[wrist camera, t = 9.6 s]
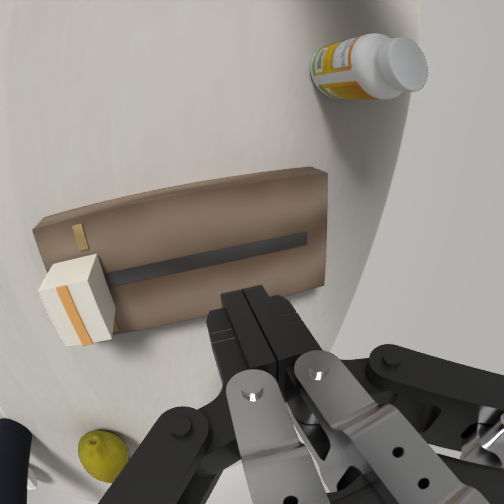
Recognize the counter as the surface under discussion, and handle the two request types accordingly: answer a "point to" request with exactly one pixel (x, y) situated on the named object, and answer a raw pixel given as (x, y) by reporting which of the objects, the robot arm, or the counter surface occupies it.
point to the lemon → (103, 455)
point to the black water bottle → (14, 461)
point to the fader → (79, 301)
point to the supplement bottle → (369, 68)
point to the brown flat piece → (198, 243)
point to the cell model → (31, 480)
